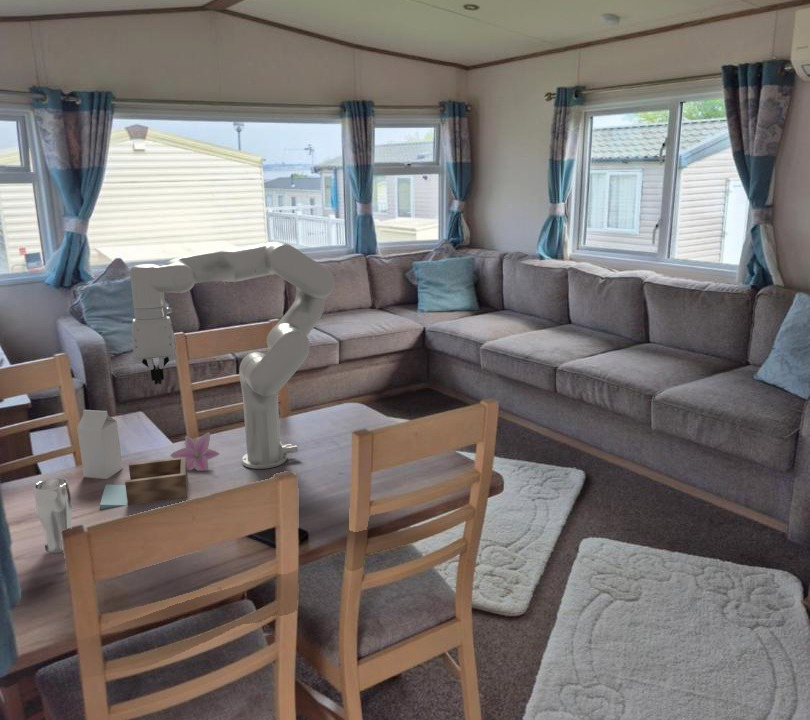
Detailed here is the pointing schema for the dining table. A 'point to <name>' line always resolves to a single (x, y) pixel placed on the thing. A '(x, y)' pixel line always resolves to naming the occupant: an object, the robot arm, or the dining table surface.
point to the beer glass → (53, 510)
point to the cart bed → (157, 481)
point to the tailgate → (113, 496)
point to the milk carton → (99, 444)
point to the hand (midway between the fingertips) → (158, 382)
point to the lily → (196, 453)
